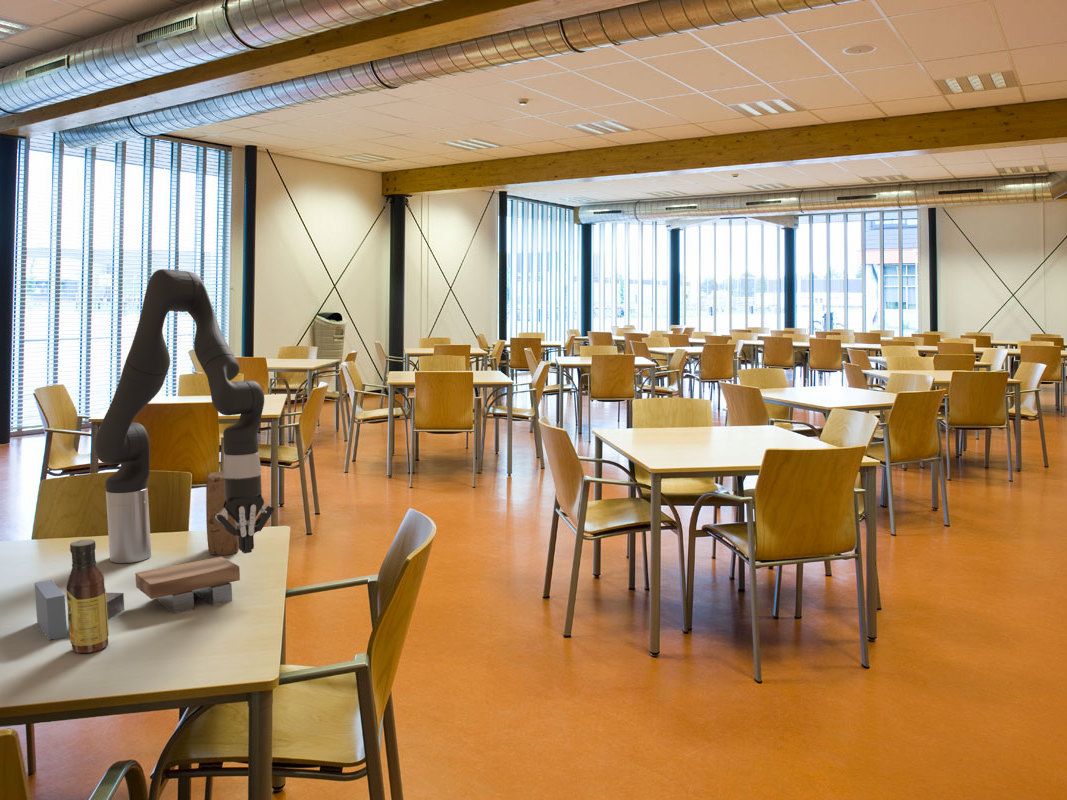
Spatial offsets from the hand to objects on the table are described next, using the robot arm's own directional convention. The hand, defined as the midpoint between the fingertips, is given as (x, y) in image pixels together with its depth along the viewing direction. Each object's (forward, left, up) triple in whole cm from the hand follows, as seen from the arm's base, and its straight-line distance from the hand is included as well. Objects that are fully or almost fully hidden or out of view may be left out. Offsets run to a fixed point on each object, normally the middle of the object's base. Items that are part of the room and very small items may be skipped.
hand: (246, 552), depth 191 cm
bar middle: (0, -15, -9) cm, 18 cm away
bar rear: (0, -8, -9) cm, 12 cm away
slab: (0, -12, -5) cm, 13 cm away
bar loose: (0, -30, -9) cm, 31 cm away
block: (-33, +6, -8) cm, 35 cm away
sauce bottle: (+15, -35, -8) cm, 39 cm away
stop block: (0, -38, -8) cm, 39 cm away
